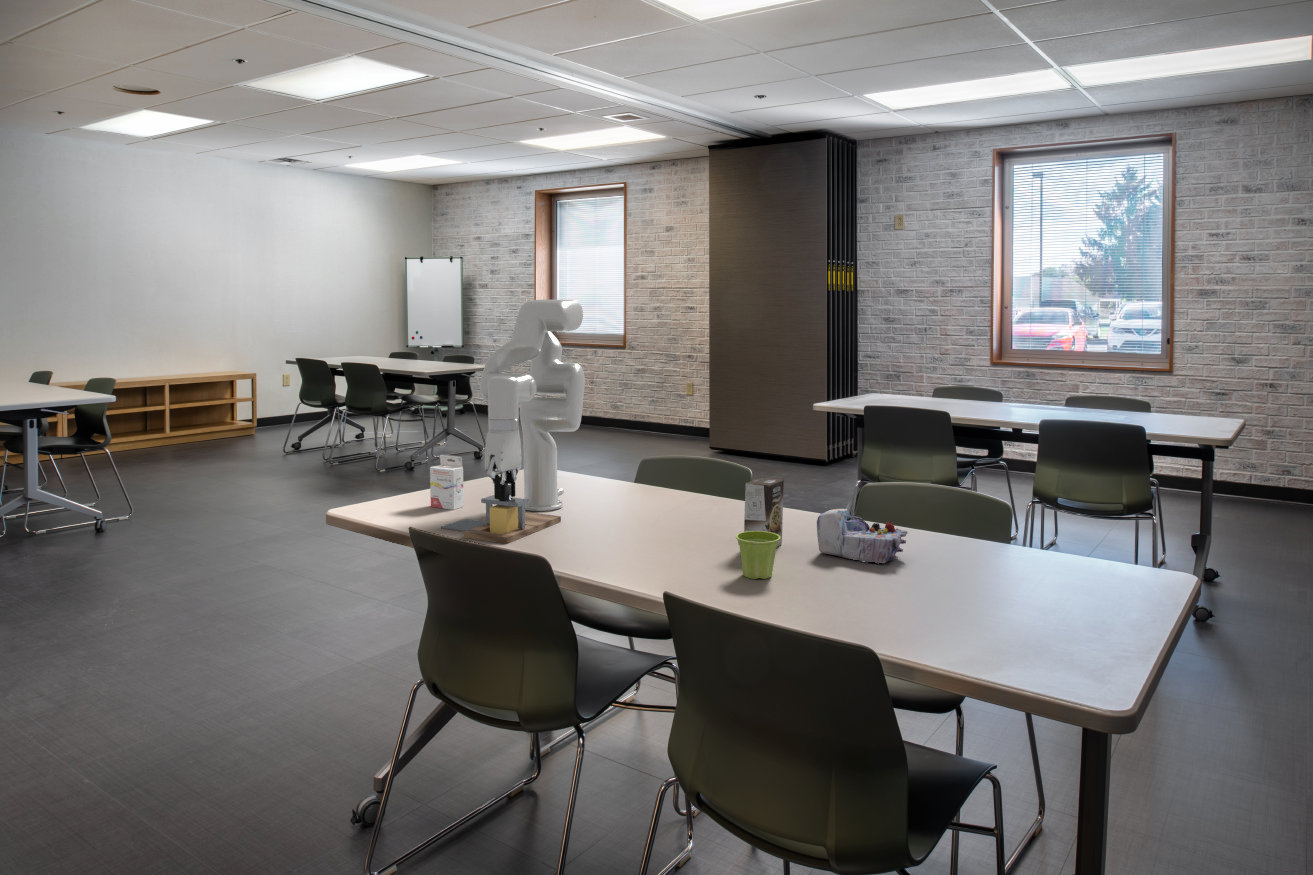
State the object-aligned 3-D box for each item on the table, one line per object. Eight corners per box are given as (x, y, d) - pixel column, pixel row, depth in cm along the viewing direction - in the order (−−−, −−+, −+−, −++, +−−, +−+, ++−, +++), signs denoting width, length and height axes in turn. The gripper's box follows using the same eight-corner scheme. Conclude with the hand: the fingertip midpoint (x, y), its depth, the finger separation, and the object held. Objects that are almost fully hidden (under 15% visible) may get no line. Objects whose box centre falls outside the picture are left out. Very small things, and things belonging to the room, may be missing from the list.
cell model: (825, 501, 207) (910, 511, 199) (822, 544, 209) (907, 556, 201) (813, 511, 195) (903, 522, 188) (810, 557, 197) (899, 570, 189)
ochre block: (501, 530, 220) (501, 503, 219) (517, 532, 218) (517, 505, 217) (490, 534, 216) (489, 507, 215) (506, 536, 214) (506, 509, 213)
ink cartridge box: (429, 507, 246) (428, 456, 244) (441, 503, 250) (439, 454, 248) (453, 510, 242) (452, 458, 240) (464, 506, 247) (463, 456, 245)
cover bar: (493, 521, 222) (492, 480, 220) (529, 526, 217) (528, 483, 216) (481, 525, 217) (480, 483, 216) (518, 530, 213) (517, 487, 211)
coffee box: (767, 553, 201) (769, 485, 199) (742, 548, 204) (744, 482, 202) (783, 544, 209) (785, 479, 206) (759, 540, 212) (760, 476, 210)
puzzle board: (520, 516, 235) (519, 511, 235) (560, 521, 230) (560, 516, 229) (463, 537, 213) (463, 531, 212) (507, 543, 207) (507, 537, 207)
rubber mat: (464, 520, 231) (464, 518, 231) (495, 524, 226) (495, 522, 226) (440, 528, 222) (440, 526, 222) (472, 532, 217) (472, 531, 217)
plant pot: (762, 585, 177) (763, 544, 175) (726, 575, 183) (727, 536, 182) (787, 575, 184) (789, 535, 182) (751, 566, 190) (752, 528, 189)
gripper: (510, 421, 223) (511, 490, 225) (471, 428, 208) (472, 502, 211) (534, 423, 220) (535, 493, 222) (496, 430, 205) (498, 505, 207)
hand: (505, 497), depth 216 cm, fingers closed on cover bar, 3 cm apart
